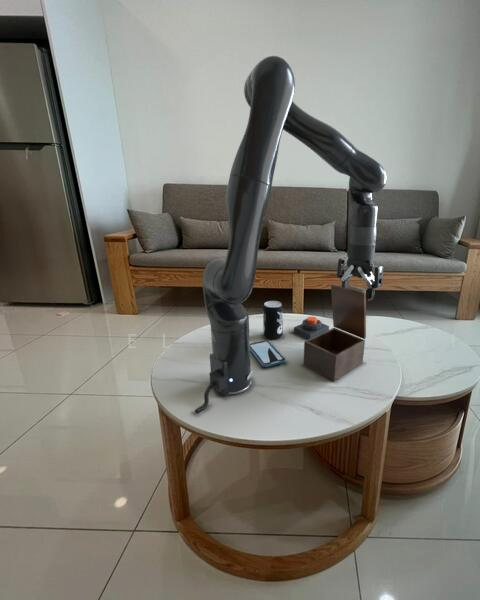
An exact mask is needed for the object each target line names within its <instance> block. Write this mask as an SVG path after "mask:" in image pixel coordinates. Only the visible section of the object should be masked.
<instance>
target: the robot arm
mask: <svg viewBox="0 0 480 600" xmlns="http://www.w3.org/2000/svg"><path fill="white" fill-rule="evenodd" d="M295 89H296V81H295V75H294V72H293V70H292V67H291V65H290V64H289V63H288V61H286V60H285V59H284V58H283V57H281V56H278V55H269V56H266V57H264V58H263V59H261V60H260V61H258V62H257V63H256V64H255V65H254V67H253V68H252V70H251V71H250V73H249V74H248V76H247V77H246V79H245V81H244V86H243V95H244V99H245V102H246V104H247V105H248V107H249V115H248V120H247V125H246V128H245V131H244V134H243V137H242V139H241V141H240V144H239V146H238V148H237V151H236V153H235V156H234V159H233V161H232V162H233V163H232V165H231V168H230V172H229V177H228V181H227V187H226V193H225V209H226V216H227V217H226V218H227V223H228V230H229V242H228V248H227V253H226V258H219V257H218V258H215V259H213V260H212V261H210V262H209V263H208V264H206V267H205V268H204V271H203V274H202V291H203V299H204V306H205V307H204V308H205V312H206V315H207V318H208V321H209V326H210V335H211V336H210V338H211V348H212V350H211V351H212V353H209V366H210V372H209V373H208V375H209V385H208V387H206V389H205V391H204V394H203V400H204V401H203V404H202V405H200V406H199V407H197V408H195V410H194V412H195V413H196V414H199V413H201V412H203V411H204V410H205V409H206V408H207V407H208V405H209V401H210V399H209V396H210V392H211V391H212V389H213V388H214V390H216V391H217V392H218V393H220V394H221V395H222V396H223V397H228V396H234V395H239V394H243V392H246V391H247V390H249V389H250V387H251V386H252V375H253V373H254V370H253V369H254V368H253V369H252V367H251V351H250V343H251V342H250V340H251V339H250V316H249V313H248V311H247V310H246V308H245V307H244V305H243V303H244V302H245V301H246V300H247V299H248V298H249V297H250V296H251V294H252V291H253V289H254V286H255V280H256V275H257V274H256V273H257V265H258V264H257V263H258V257H259V256H258V254H259V247H260V243H261V236H262V231H263V226H264V221H265V217H266V212H267V208H268V204H269V200H270V195H271V190H272V185H273V180H274V176H275V175H274V174H275V169H276V165H277V160H278V155H279V149H280V143H281V139H282V135H283V134H282V133H283V131H284V132H286V133H288V134H289V135H291V136H292V137H293V138H295V139H296V140H298V142H301V143H302V144H303V145H304V146H306V147H307V148H308V149H309V150H311V151H313V153H315V154H316V155H317V156H318V157H320V158H321V159H322V160H323V161H324V162H325V163H326V164H328V165H329V166H330V167H331V168H332V169H333V170H335V171H336V172H338V173H339V174H342V175H346V176H348V177H349V179H348V191H349V193H348V194H349V199H350V206H351V213H350V225H349V231H348V240H347V242H348V243H347V252H346V253H347V255H346V256H347V257H341V258H339V259H338V262H337V268H336V269H337V270H336V278H338V279H340V280H341V287H344V288H347V289H348V288H349V286H350V279H351V278H352V277H354V278H355V277H357V278H359V279H362V280H363V282H364V283H365V284H366V286H367V289H366V302H371V301H372V300H373V299H374V298H375V293H376V289H379V288H380V287H382V286H383V276H384V266H383V265H374V260H375V253H376V244H377V243H376V242H377V224H378V215H379V214H378V213H379V209H378V205H377V204H376V203H375V202H373V197H372V196H373V195H372V194H377V193H379V192H380V191H382V190H383V188H385V186H386V184H387V180H388V179H387V173H386V170H385V168H384V167H383V166H382V164H381V163H379V162H378V161H377V160H376V159H374V158H372V157H371V156H369V155H368V154H366V153H365V152H363V151H362V150H360V149H358V148H357V147H356V146H355V145H354V144H353V143H352V142H351V141H350V140H349V139H348V138H346V136H344V135H343V134H342V133H341V132H340V131H339V130H337V129H336V128H334V127H333V126H332V125H330V124H328V123H326V122H324V121H322V120H320V119H318V118H317V117H314V116H313V115H311V114H310V113H308V112H307V111H305V110H303V109H302V108H301V107H300V106H299V105H297V104H296V103H295V102H294V101H293V99H294V97H295V91H296V90H295ZM346 268H348V269H347V270H346Z"/></svg>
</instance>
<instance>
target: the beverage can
mask: <svg viewBox="0 0 480 600" xmlns="http://www.w3.org/2000/svg"><path fill="white" fill-rule="evenodd" d="M263 304H264V306H262V307H263V308H262V319H263V320H262V321H263V323H262V324H263V337H265V339H267V340H278V339H280V338H282V336H283V335H284V333H283V332H284V331H283V330H284V329H283V328H284V325H283V323H284V308H283V306H282V302H281V301H277V300H269V301H268V300H267V301H266V302H264V303H263Z"/></svg>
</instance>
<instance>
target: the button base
mask: <svg viewBox="0 0 480 600" xmlns="http://www.w3.org/2000/svg"><path fill="white" fill-rule="evenodd" d="M328 330H330V326H329V325H328V324H325V323H322V321H321V320H320V319H318V318H317V324H313V325H311V324H307V318H305V319H303V320H302V323H300V324H298V325H296V326H294V327H293V333H294V334H296V335H298V336H300V337H302V338H304V339H307V340H309V339H311V338H313V337H315V336H317V335H319V334H321V333H324V332H326V331H328Z"/></svg>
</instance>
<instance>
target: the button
mask: <svg viewBox="0 0 480 600" xmlns="http://www.w3.org/2000/svg"><path fill="white" fill-rule="evenodd" d="M306 319H307V324H311V325H313V324H317V319H318V318H317V317H316V316H307V317H306Z"/></svg>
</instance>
